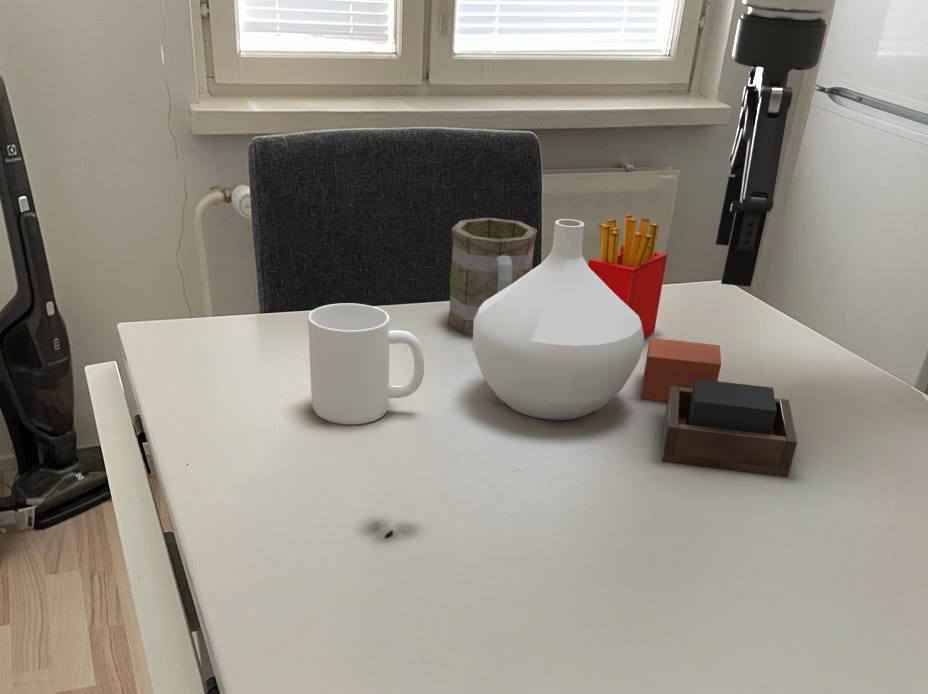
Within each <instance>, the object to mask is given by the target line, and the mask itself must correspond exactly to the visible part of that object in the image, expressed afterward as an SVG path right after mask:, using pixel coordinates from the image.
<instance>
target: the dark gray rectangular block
mask: <svg viewBox="0 0 928 694" xmlns="http://www.w3.org/2000/svg"><path fill="white" fill-rule="evenodd" d="M775 398H776V397H775V391H774V387H770V386H762V385H754V384H746V383H745V384H744V383H736V382H727V381H719V380H718V381H711V380H702V379H695V380H694V385H693V390H692V395H691V400H690V405H689V410H688V415H687V420H686V425H693V426H702V427H710V428H718V429H727V430H735V431H743V432H751V433H760V434H768V435H771V432H772V428H773V424H774V420H775V417H776V413H777V409H776V403H775Z"/></svg>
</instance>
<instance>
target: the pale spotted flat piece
mask: <svg viewBox="0 0 928 694" xmlns="http://www.w3.org/2000/svg"><path fill="white" fill-rule="evenodd" d="M379 524H380V522H379V520H378V521H374V522H372V524H371V526H370V529H371V531H372V532H376V531H377V530H378V528H379ZM407 530H408V528H407V527H405V528H404V531H403V532H404V533H406V532H407ZM393 534H394V530H389V531H388V532H385V536H384V538H386V537H387V536H388V535H393Z"/></svg>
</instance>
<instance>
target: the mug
mask: <svg viewBox="0 0 928 694" xmlns="http://www.w3.org/2000/svg"><path fill="white" fill-rule="evenodd" d="M537 234H538V229H536V228H535V227H532V226H530V225H528V224H526V223H524V222H522V221H521V220H513V219H512V220H511V219H504V218H503V219H502V218H496V217H480V218H471V219H462V220H459V221H458V222H457V223H456V224H455V225H454V226H453V227H452V228H451V241H452V249H451V250H452V251H451V265H450V271H449V295H450V296H449V312H448V318H447V323H446V324H447V326H448V327H450V328H452V330H455V331H456V332H458V333H459V334H460V335H462V336H466V337H472V338H473V324H474V318H475V316H476V314H477V312H478V309H479V307H480V306H481V305H482V304H483V303H484V301H486V300H487V299H489V298H491V297H492V296H494V295H495V294H497V293H498V292H500V291H502V290H503V289H505V288H506V287H508V286H509V285H511V284H513V283H514V282H516V281H517V280H518V279H520V278H521V277H523V276H524V275H526V274H527V273H528V272H530V271H531V270H533V269H534V268H533V266H534V263H533V262H534V250H535V243H536V238H537Z"/></svg>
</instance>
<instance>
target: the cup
mask: <svg viewBox="0 0 928 694" xmlns="http://www.w3.org/2000/svg"><path fill="white" fill-rule="evenodd" d="M307 323H308V324H307V325H308V326H307V327H308V344H309V345H308V348H309V372H310V394H311V404H312V405H311V406H312V409H313V411H314V413H315V414H316V415H317V416H318V417H319V418H321V419H322V420H324V421H327V422H329V423H333V424H339V425H351V426H353V425H355V426H356V425H364V424H368V423H372V422H375V421H378V420H379V419H381V418H382V417H383V416H384V415H385V414H386V413H387V411H388V408H389V403H390V399H402V398H406V397H409V396H411V395H412V394H414V393H416V391H418V389H419V388H420V386H421V385H422V382H423V379H424V375H425V357H424V351H423V348H422V345H421V343H420V341H419V340H418V338H417V337H416V336H415V335H414V334H413V333H411V332H409V331H405V330H390V315H389V314H388V313H387V312H386V311H385V310H384V309H381V308H379V307H376V306H372V305H368V304H363V303H351V302H347V303H346V302H344V303H343V302H341V303H332V304H326V305H322V306H319V307H316V308H313V310H312V311H310V312H309V313H308V316H307ZM393 344H394V345H395V344H406V345H408V346H409V347H410V350H411V353H412V357H413V375H412V378H411V379H410V381H409V382H408V383H407V384H404V385H390V345H393Z"/></svg>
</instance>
